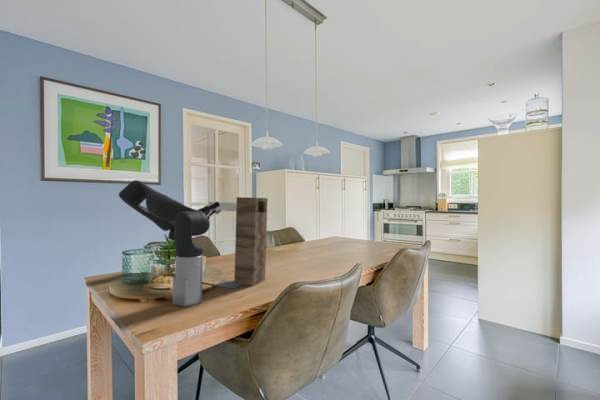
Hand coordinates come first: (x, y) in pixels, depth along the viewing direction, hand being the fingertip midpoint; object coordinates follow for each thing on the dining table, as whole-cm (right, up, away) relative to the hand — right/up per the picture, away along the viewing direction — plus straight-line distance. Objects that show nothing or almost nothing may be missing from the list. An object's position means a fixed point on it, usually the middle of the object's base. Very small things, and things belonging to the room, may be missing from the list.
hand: (221, 203), depth 135 cm
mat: (0, -35, -10) cm, 37 cm away
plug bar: (+4, -3, -2) cm, 6 cm away
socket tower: (+15, -36, -7) cm, 39 cm away
